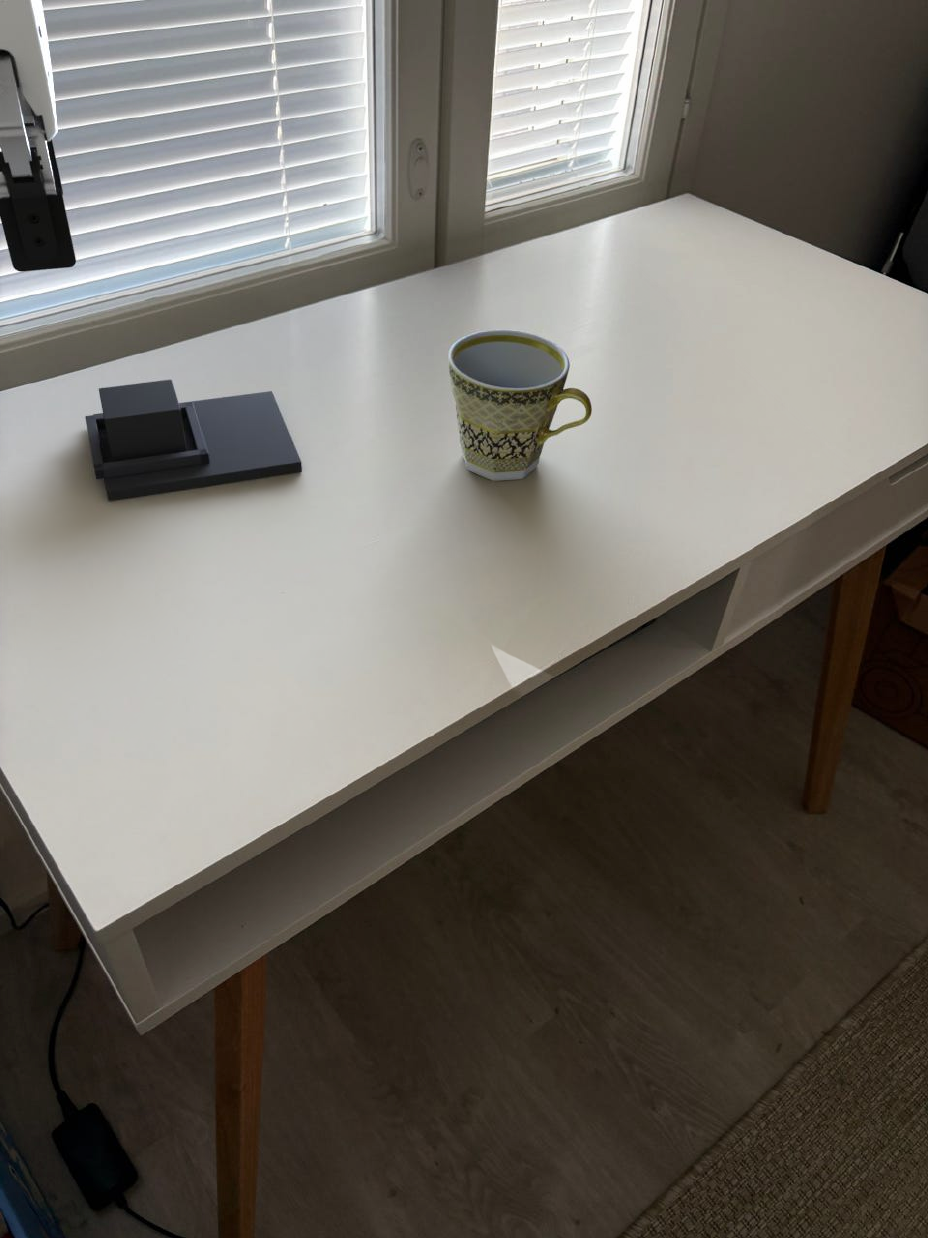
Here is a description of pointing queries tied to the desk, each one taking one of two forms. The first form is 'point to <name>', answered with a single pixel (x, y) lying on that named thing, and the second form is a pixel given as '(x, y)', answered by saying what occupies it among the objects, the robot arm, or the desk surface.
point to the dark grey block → (142, 420)
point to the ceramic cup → (508, 399)
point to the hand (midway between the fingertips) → (40, 230)
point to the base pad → (203, 449)
